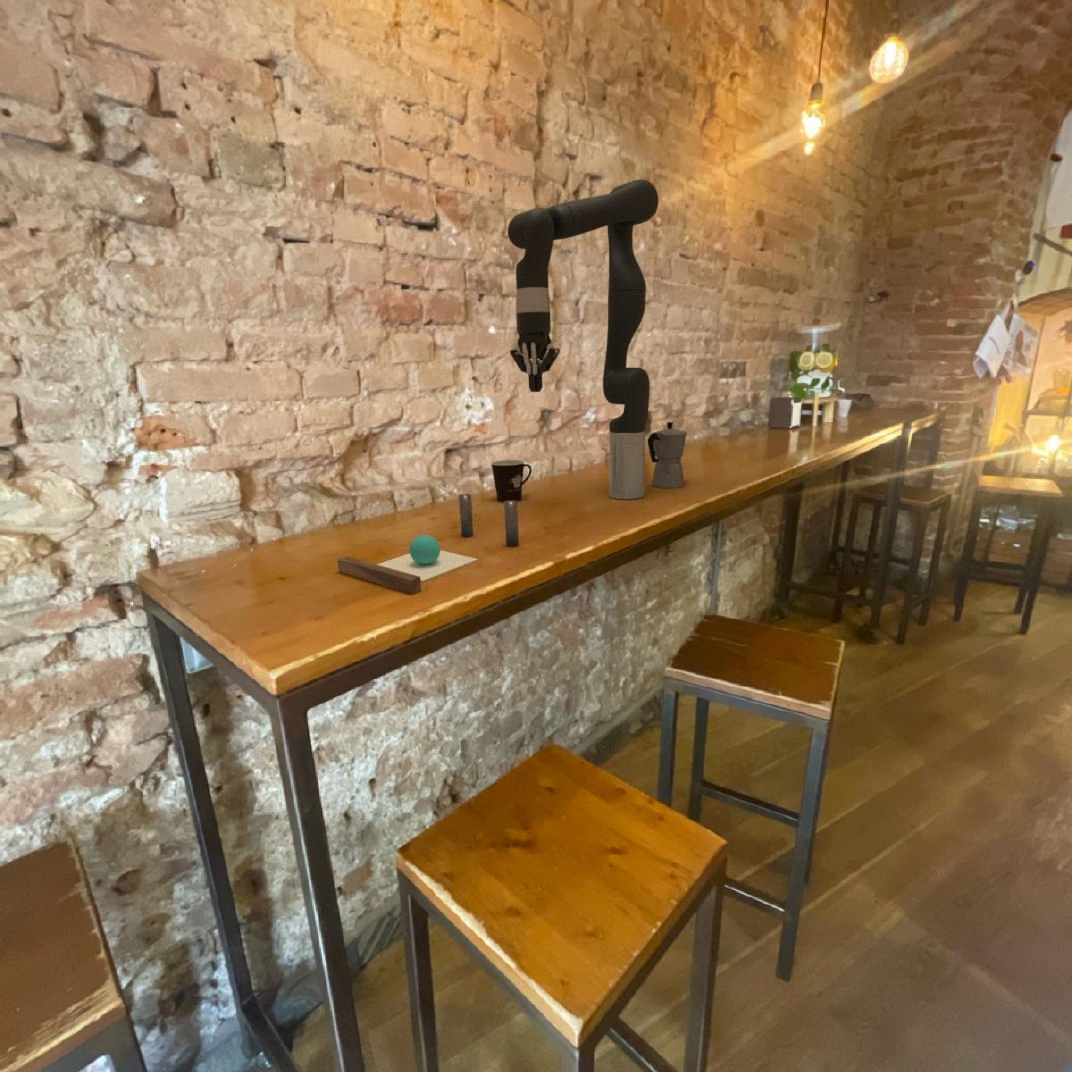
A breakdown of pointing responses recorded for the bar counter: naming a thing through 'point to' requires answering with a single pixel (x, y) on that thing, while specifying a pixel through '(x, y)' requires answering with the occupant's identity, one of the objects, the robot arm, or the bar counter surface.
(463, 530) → the post
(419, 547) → the ball
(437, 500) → the bar counter surface
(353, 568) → the wall
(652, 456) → the coffeepot
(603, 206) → the robot arm
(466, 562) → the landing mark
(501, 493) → the coffee mug
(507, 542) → the post
